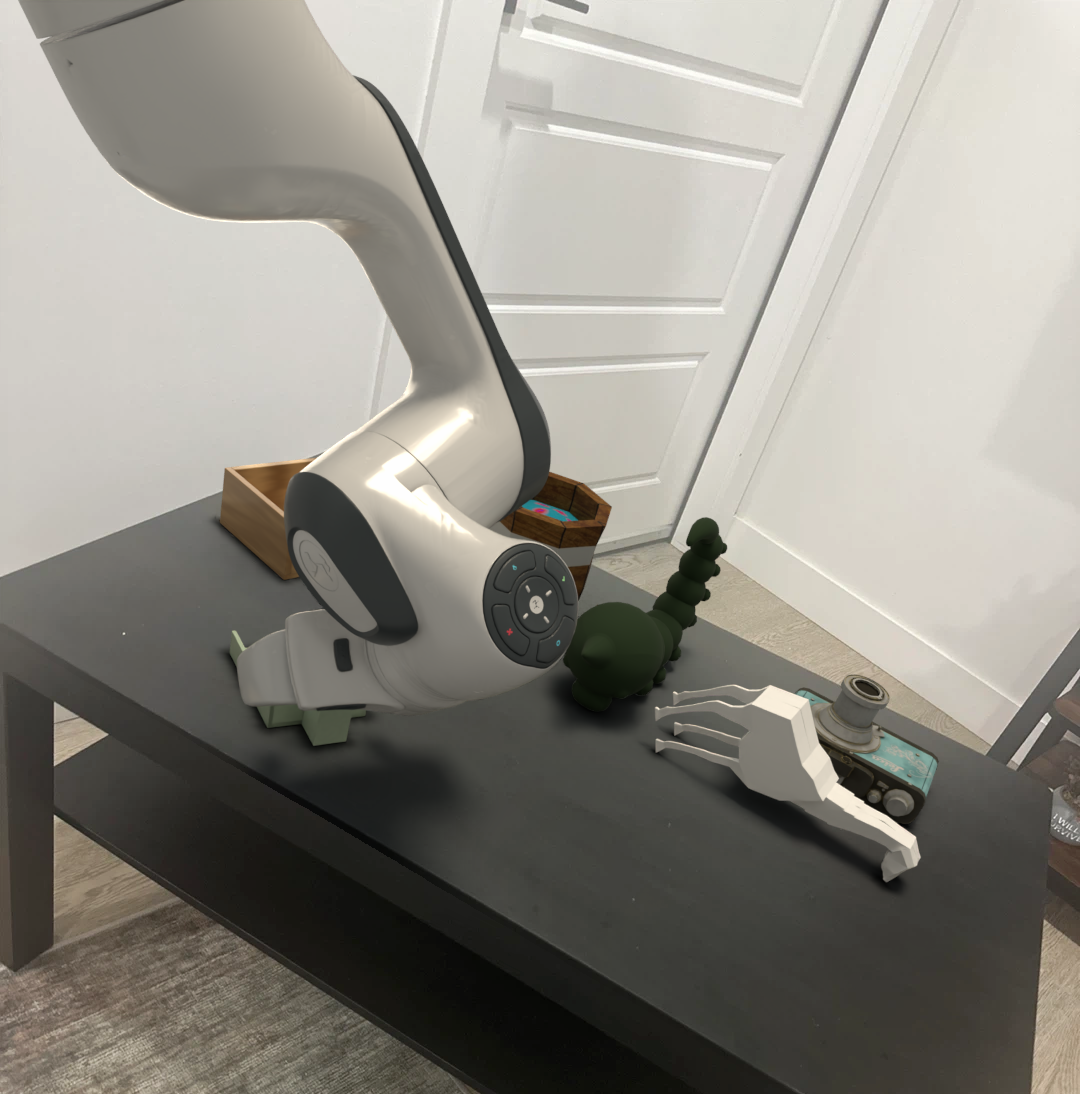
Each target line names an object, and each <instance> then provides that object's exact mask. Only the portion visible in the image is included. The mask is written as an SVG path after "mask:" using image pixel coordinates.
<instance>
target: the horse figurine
mask: <svg viewBox="0 0 1080 1094" xmlns="http://www.w3.org/2000/svg"><path fill="white" fill-rule="evenodd" d="M719 696H728V697H731V698H734V699H736V700H738V701H739V702H741V703H743V704H744V705H732V704H730V703H727V702H725V701H722V700H719V699H716V700H708V701H704V702H703V701H702V702H698V703H695V704H687V705H680V706H676V705H677V704H678V703H680V702H683V701H684V700H689V699H695V698H704V697H719ZM672 699H673V700H672V701H673V702H672V703H673V706H668V705H667V706H664V707H662V708H659V706H655V707H654V718H655V722H658V721H659V720H660V719H661V718H663V717H666V716H670V715H675V714H686V713H699V712H711V713H714V714H717V715H719V716H720V717H722V718H724V719H727V720H729V721H730V722H733V723H735V724H738V725H739V726H741V727H743V728H745V729H746V730H748V731H747V732H746V733H745V734H744V735H743V736H742V737H739V736H735V735H731V734H727V733H725V732H722V731H718V730H715V729H711V728H708V727H707V728H706V727H704V726H700V725H696V724H690V723H685V724H682V723H679V722H677V721H674V723H673V735H674V736H677V735H679V734H680V733H683V732H690V733H696V734H700V735H704V736H708V737H712V738H714V739H715V740H718V741H721V742H723V743H725V744H727V745H731V746H734V747H738V758H736V757H731V756H726V755H723V754H719V753H716V752H712V751H709V750H707V749H703V748H700V747H695V746H692V745H689V744H685V743H681V742H678V741H673V740H666V741H665V740H662V739H660V738H659V737H658V738H656V739H655V740H654V741H655V753H658V752H661V751H662V750H664V749H671V750H677V751H682V752H685V753H688V754H692V755H695V756H697V757H700V758H702V759H705V760H706V761H709V762H711V763H714V764H718V765H722V766H725V767H728V768H730V770H731V771H732V772H733V773H734V774H735V775H736V776H737V777H738V779H740V781H741V782H742V783H743V784H744V785H745V786H746V788H748V789H750V790H752V791H754V792H756V793H759V794H762V795H764V796H767V797H769V798H772V799H774V800H777V801H784V802H785V801H786V802H791V803H792V804H794V805H796V806H798V807H800V808H802V809H803V811H804V812H806V813H807V814H809V815H811V816H813V817H815V818H817V819H818V820H821V821H823V822H824V823H826V825H829V826H831V827H835V828H838V829H841V830H845V831H848V832H850V833H853V834H856V835H859V836H861V837H864V838H867V839H869V840H871V841H874V842H876V843H878V844H880V845H882V846H884V847H886V848H887V849H886V852H885V853H884V854H883V858H882V860H881V862H880V869H881V871H882V880H883V881H884V882H885V883H888V882H889V881H892V880H894V879H895V878H896V877H898V876H900V875H901V874H902V873H904V872H907V871H909V870H910V869H913V868H915V867H917V866H918V864H919V861H920V859H921V858H922V856H921V854H920V851H919V846H918V841H917V836H916V835H914V834H912V833H911V832H910V831H908V830H907V829H906V828H904V827H903V826H901V825H900V824H899V823H898V822H896V821H894V820H893V819H891V818H889V817H888V816H887V815H885V814H883V813H881V812H879V811H877V810H875V809H873V808H872V807H870V806H868V805H866V804H864V801H862V800H860V799H859V798H857V797H855V796H854V795H855V794H853V793H852V792H850V791H849V790H847V789H845V788H844V787H842V786H841V785H839V784H838V783H836V782H837V781H838V779H839V778H838V776H837V774H836V772H835V771H834V768H833V765H832V762H831V760H830V757H829V756H828V755H827V753H826V752H825V751H824V749H823V748H822V747H821V745H820V744H819V741H818V737H817V733H816V730H815V726H814V721H813V717H812V712H811V708H810V703H809V699H806V698H803V697H801V696H798V695H795V693H793V692H790V691H787V690H785V689H782V688H779V687H776V686H775V685H771V684H769V685H766V686H765V687H763V688H760V689H748V688H746V687H743V686H741V685H738V684H726V685H722V686H717V687H713V688H709V689H702V690H693V691H687V690H684V691H682V692H679V693H678V692H676V691H673V692H672ZM674 736H673V737H674Z"/></svg>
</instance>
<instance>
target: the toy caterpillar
mask: <svg viewBox="0 0 1080 1094" xmlns="http://www.w3.org/2000/svg"><path fill="white" fill-rule="evenodd" d="M685 545H686V546H687V547H688V548H689V549H687V550H686V551H685V552H684V553H683V554H682V555H681V556H680V558H679V563H678V570H677V571H675V572H674V573H672V574H671V576H670V577H669V578H668V580H667V583H666V586H665V591H664V592H662V593H661V594H659V595H658V596H657V598H656V599H655V601H654V604H653V605H652V609H651V610H648V611H647V612H645V611H644V610H642V609H641V608H640V607H637V606H635V605H633V604H631V603H628V602H622V601H608V602H603V603H599V604H597V605H595V606H593V607H590V608H589V609H587V610H586V611H585V612H583V613H582V614H581V615H580V616H579V617H578V618H577V624H576V629H575V633H574V635H573V638H572V641H571V643H570V645H569V647H568V649H567V650H566V652H565V653H564V655H563V657H562V663H563V665H564V667H566V669H567V668H568V669H569V670H570V672H571V673H572V675H573V677H574V679H575V681H573V684H572V686H571V694H572V697H573V699H574V700H575V701H576V702H577V703H578V704H579V705H580V706H582V707H583V708H585V709H587V710H589V711H592V712H595V713H598V712H599V713H600V712H604V711H605V710H607V709H608V708H609V707H610V705H611V704H612V701H613V698H614V699H615V698H617V699H619V700H622V699H626V698H627V697H630V696H632V695H636V696H639V697H641V696H642V697H643V696H647V695H648V694H649V693H651V691H652V690H653V685H654V684H655V685H656V684H657V685H658V684H661V683H662V682H663V681H665V680H666V676H667V670H666V668H665V665H666V664H667V663H668V662H671V663H673V662H677V661H678V660H679V659H680V658H681V656H682V649H681V648H680V646H679V645H680V644H681V641H682V639H683V633H684V630H686V629H688V628H692V627H695V625H696V624H697V622H698V616H697V615H696V606H698V605H699V604H700V603H701V602H707V601H708V600H710V598H711V597H712V596H711V595H712V593H711V591H710V589H709V588H706V587H707V585H706V583H707V582H709V581H710V579H711V578H717V577H718V576H719V575H720V574H721V567H720V565H719V564H718V563H716V560H718V559H719V557H720V556H721V555H724V554H726V553H727V550H728V545H727V543H725V542H724V540H723V538H722V537H721V534H720V527H719V525H718V523H717V522H716V520H714V519H713V518H710V517H707V516H704V517H701V518H699V519H696V520H695V521H694V523H692V524H691V527H690V529H689V531H688V534H687V536H686V540H685Z"/></svg>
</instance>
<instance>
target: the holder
mask: <svg viewBox="0 0 1080 1094" xmlns="http://www.w3.org/2000/svg"><path fill="white" fill-rule="evenodd" d="M316 458H317V457H309V458H300V459H291V460H282V461H281V460H280V461H273V462H264V463H263V462H262V463H255V464H244V465H237V466H227V467H224V473H223V481H222V482H223V483H222V493H221V503H220V504H221V505H220V518H219V524H221V526H223V527H224V528H225V529H226V530H227V531H229V532H230V533H231V534H232V535H233V536H234V537H235V538H236V539H238V540H239V542H240V543H242V544H243V545H244V546H245V547H246V548H247V549H248V550H250V551H251V552H252V553H253V554H254V555H255V556H256V557H257V558H259V560H261V561H262V562H263V563H264V564H265V565H267V566H268V568H270V569H271V570H272V571H273V572H274V573H276V574H277V575H278V577H280V578H281V579H282V580H283V581H285V580H291V579H296V578H300V577H299V575H298V574H297V572H296V570H295V568H294V566H293V564H292V561H291V559H290V555H289V551H288V546H287V540H286V533H285V524H284V501H285V494H286V490H287V487H288V483H289V481H290V479H291V478H292V477H293V476H294V475H295V474H297V473H299V472H300V471H301V470H302V469H304V468H305V467H306V466H308V465H309V464H310V463H311V462H313V461H314V460H315V459H316Z"/></svg>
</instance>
